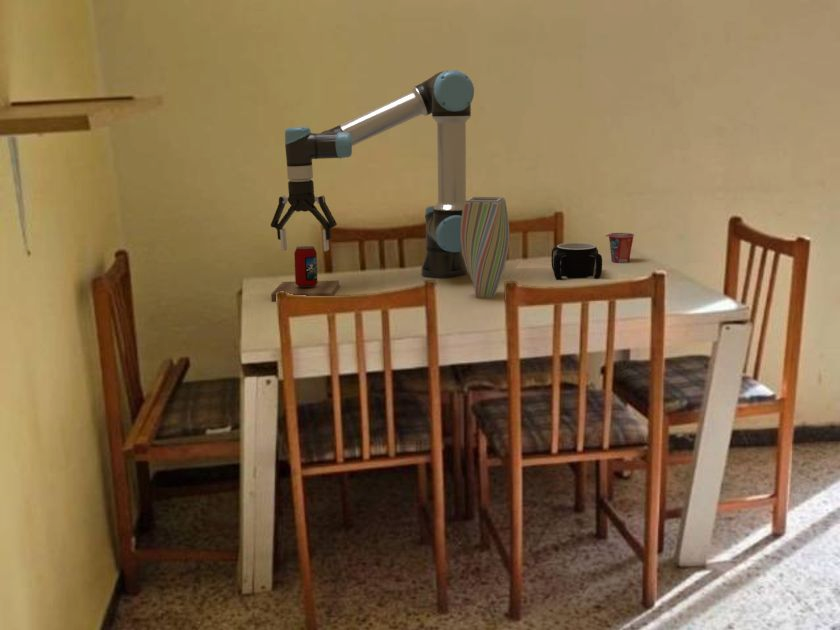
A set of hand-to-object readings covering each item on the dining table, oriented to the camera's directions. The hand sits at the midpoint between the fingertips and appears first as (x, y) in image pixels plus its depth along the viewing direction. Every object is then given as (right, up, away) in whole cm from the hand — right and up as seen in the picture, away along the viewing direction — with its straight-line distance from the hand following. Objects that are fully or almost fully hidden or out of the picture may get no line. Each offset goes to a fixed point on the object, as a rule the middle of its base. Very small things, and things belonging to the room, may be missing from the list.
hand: (305, 250), depth 271 cm
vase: (+54, -16, -13) cm, 58 cm away
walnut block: (0, -14, +3) cm, 14 cm away
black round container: (+84, -10, +10) cm, 85 cm away
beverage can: (0, -11, +3) cm, 11 cm away
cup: (+102, -5, +29) cm, 106 cm away
